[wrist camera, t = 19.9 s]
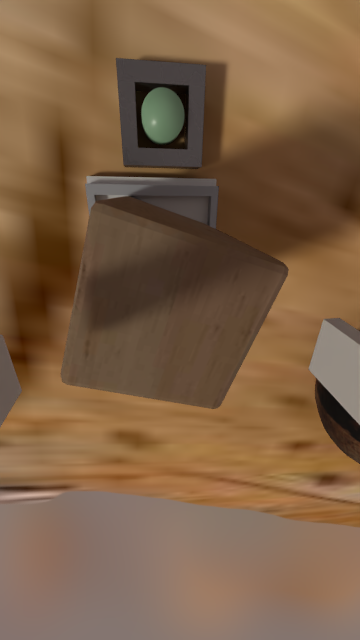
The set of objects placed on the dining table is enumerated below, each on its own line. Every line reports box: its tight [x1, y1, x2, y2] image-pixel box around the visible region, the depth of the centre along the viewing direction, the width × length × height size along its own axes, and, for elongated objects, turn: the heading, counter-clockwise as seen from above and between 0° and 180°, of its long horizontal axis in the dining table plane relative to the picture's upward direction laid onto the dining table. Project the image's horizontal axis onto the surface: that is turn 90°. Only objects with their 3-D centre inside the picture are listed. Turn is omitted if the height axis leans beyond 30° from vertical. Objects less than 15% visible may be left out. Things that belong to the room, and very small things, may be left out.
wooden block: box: [61, 196, 288, 409], centre depth 22 cm, size 10×10×20 cm
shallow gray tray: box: [85, 176, 219, 229], centre depth 31 cm, size 16×14×2 cm
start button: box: [142, 87, 184, 145], centre depth 25 cm, size 4×4×2 cm
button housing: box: [116, 58, 206, 169], centre depth 26 cm, size 8×8×2 cm
